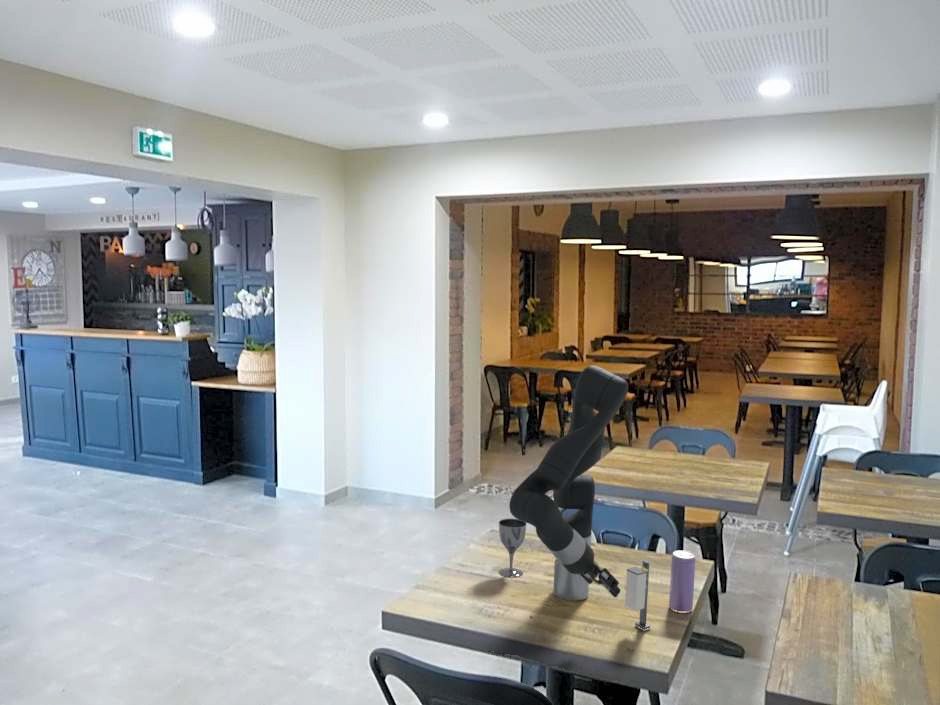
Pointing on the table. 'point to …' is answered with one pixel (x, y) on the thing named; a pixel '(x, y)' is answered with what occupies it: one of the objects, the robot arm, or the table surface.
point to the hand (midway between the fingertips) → (604, 586)
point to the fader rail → (643, 612)
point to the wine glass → (511, 542)
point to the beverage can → (682, 581)
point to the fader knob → (635, 588)
